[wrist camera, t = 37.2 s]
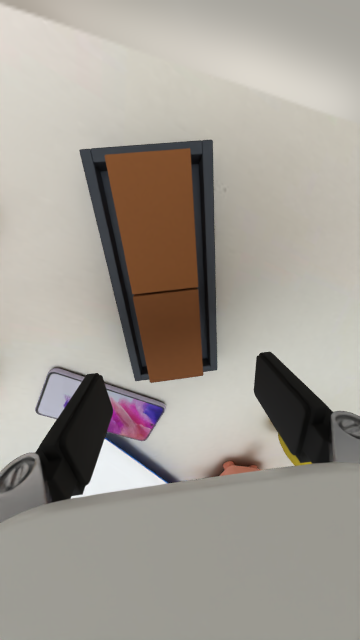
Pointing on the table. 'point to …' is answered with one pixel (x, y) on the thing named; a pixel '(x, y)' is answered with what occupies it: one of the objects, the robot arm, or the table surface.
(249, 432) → the table surface
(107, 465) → the plate
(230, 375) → the table surface
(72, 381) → the smartphone
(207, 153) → the frame
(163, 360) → the brown brick
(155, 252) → the brown rectangular block
